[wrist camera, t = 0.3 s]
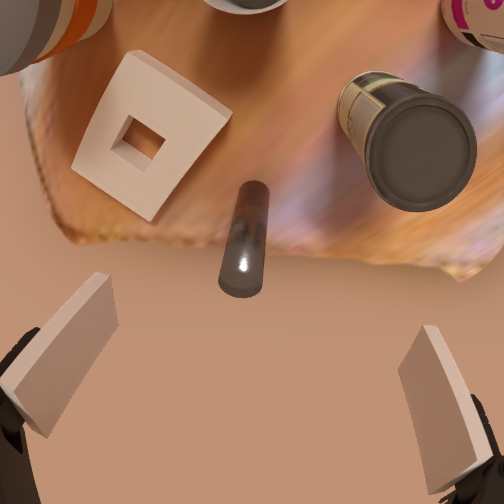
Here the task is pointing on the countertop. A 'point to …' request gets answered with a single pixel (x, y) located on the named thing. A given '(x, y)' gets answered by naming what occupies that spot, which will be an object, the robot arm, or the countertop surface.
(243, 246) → the steel pin
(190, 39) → the countertop surface
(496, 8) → the supplement can
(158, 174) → the block with square hole
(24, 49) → the reusable coffee cup
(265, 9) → the coffee mug
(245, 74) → the countertop surface
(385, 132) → the coffee can
